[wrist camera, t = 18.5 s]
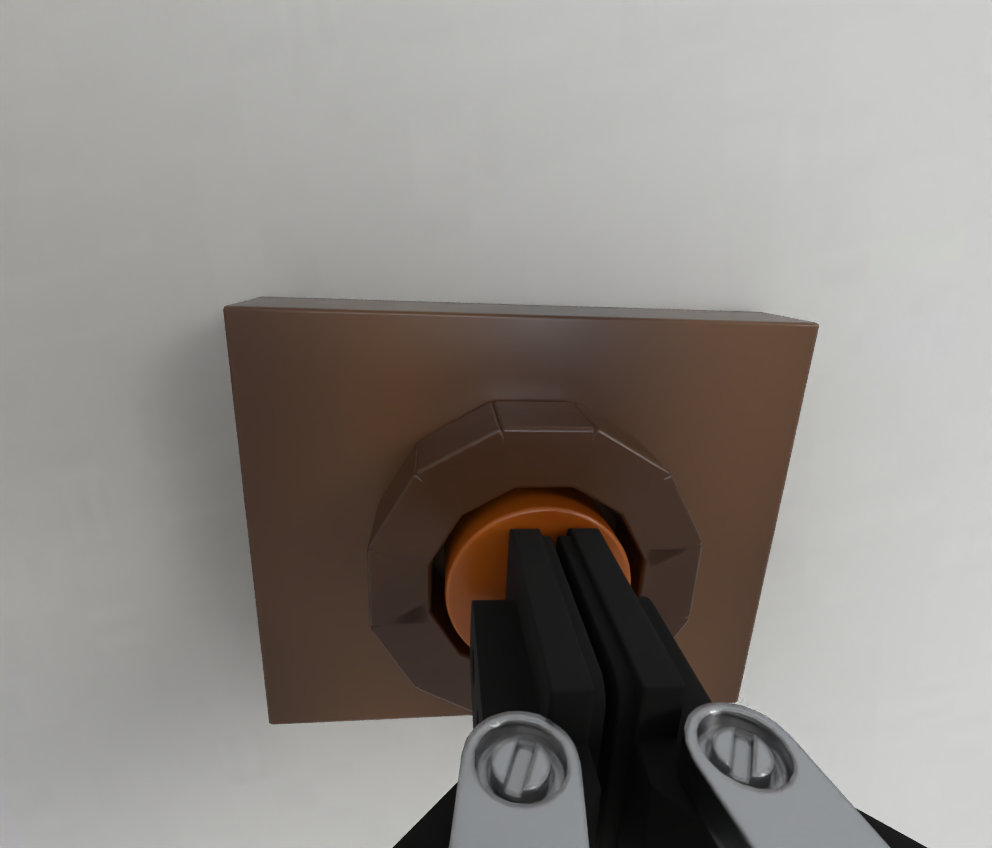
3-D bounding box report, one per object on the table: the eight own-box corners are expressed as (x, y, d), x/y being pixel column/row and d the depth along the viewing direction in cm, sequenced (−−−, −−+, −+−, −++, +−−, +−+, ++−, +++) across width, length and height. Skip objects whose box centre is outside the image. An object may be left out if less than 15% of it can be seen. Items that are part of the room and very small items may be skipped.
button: (444, 617, 12) (443, 674, 11) (445, 470, 11) (446, 508, 10) (598, 612, 13) (621, 666, 11) (614, 470, 12) (643, 506, 10)
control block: (292, 660, 15) (242, 797, 11) (259, 295, 12) (175, 316, 8) (700, 646, 16) (778, 764, 13) (762, 311, 13) (888, 335, 10)
